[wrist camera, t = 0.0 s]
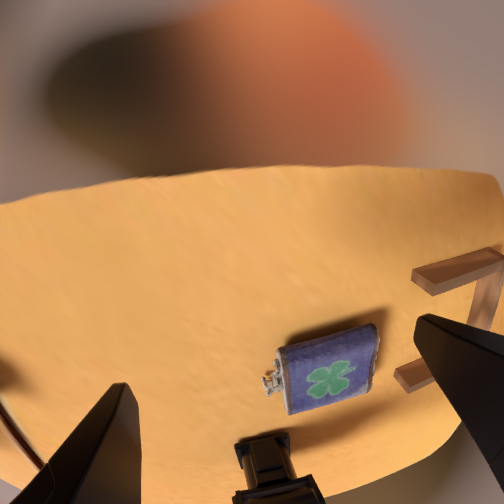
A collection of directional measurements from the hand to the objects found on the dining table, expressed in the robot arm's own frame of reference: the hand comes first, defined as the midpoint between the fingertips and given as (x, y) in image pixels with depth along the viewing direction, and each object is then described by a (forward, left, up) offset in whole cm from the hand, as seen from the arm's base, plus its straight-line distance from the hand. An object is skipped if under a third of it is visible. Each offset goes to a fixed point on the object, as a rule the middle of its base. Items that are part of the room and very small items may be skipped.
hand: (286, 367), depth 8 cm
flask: (-14, -11, -16) cm, 24 cm away
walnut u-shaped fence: (-14, -23, -15) cm, 31 cm away
